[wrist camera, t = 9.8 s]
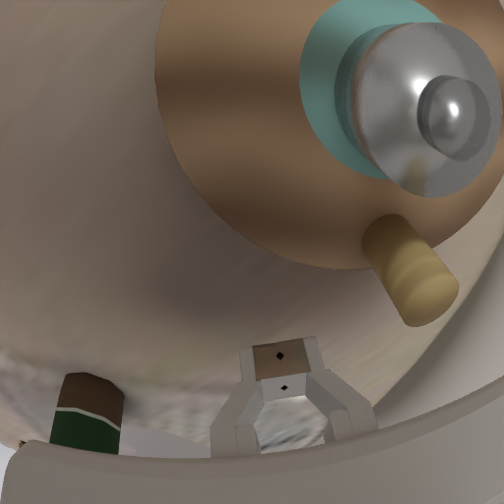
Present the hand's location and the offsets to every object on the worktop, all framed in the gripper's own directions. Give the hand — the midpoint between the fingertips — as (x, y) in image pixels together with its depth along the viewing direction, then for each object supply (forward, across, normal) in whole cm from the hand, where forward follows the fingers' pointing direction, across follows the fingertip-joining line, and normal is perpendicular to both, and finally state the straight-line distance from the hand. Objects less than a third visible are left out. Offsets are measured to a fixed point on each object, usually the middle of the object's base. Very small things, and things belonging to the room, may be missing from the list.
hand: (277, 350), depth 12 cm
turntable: (+7, -7, -9) cm, 13 cm away
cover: (+5, -7, -8) cm, 12 cm away
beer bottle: (+9, +20, +17) cm, 28 cm away
